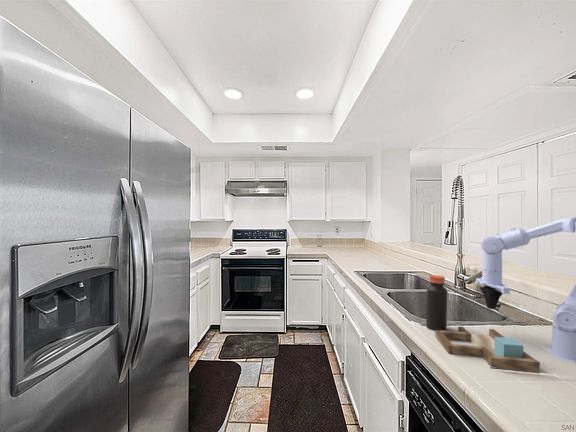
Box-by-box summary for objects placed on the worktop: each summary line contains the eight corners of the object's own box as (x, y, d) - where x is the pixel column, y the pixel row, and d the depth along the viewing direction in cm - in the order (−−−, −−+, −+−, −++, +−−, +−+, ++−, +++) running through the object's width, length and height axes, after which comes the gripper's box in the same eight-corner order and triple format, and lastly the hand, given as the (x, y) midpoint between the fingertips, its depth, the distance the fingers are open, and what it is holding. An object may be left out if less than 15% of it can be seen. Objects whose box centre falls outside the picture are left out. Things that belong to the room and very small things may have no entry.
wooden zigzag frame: (494, 337, 100) (494, 329, 100) (539, 373, 77) (539, 362, 77) (430, 332, 103) (430, 324, 103) (456, 365, 81) (456, 354, 81)
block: (512, 354, 86) (512, 338, 86) (522, 362, 82) (523, 345, 81) (494, 352, 87) (494, 336, 87) (503, 361, 82) (504, 344, 82)
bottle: (448, 329, 106) (449, 276, 106) (443, 334, 101) (444, 279, 101) (429, 324, 111) (430, 273, 111) (423, 329, 106) (424, 276, 106)
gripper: (468, 266, 108) (467, 301, 108) (494, 274, 94) (493, 315, 94) (487, 266, 108) (486, 302, 108) (516, 275, 94) (515, 315, 94)
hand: (491, 308), depth 101 cm, fingers closed
